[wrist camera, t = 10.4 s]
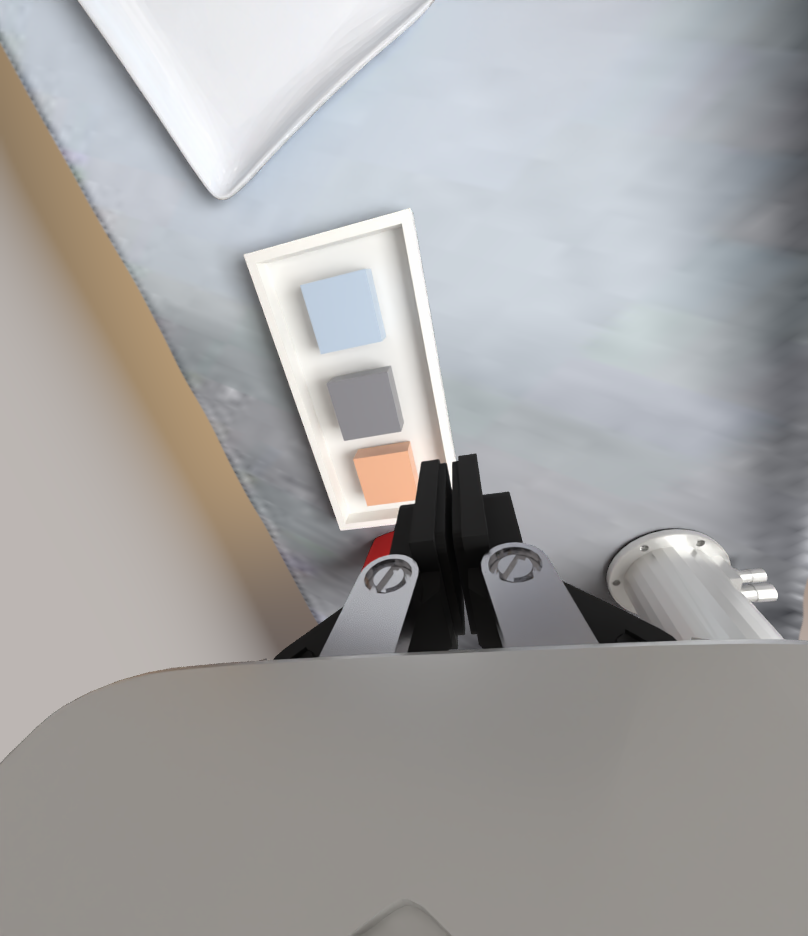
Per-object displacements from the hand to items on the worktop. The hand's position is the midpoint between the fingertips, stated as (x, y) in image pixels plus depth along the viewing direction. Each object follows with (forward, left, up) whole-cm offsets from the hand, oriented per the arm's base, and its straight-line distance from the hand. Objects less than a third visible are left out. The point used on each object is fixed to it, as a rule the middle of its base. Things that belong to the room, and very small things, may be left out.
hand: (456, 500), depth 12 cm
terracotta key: (+9, +11, -26) cm, 29 cm away
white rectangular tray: (+9, +3, -27) cm, 29 cm away
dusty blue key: (+9, -5, -26) cm, 28 cm away
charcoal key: (+9, +3, -25) cm, 26 cm away
